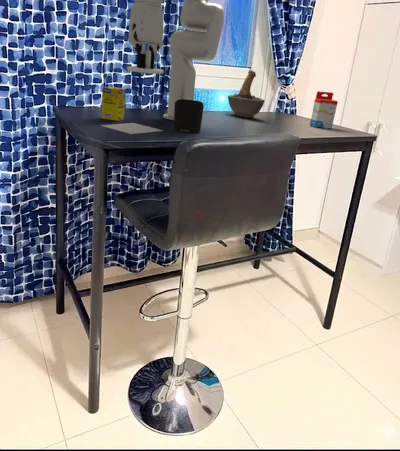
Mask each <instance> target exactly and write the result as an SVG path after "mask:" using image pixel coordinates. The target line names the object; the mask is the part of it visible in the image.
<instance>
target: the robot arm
mask: <svg viewBox="0 0 400 451" xmlns="http://www.w3.org/2000/svg"><path fill="white" fill-rule="evenodd" d="M163 2H164V0H134V2H133V3H132V6H131V9H130V16H129V24H128V40H127V42H128V43H129V45H131V47H132V48H133V49H134V51H135V53H136V67H137V68H143V69H145V67H146V54H144V53H145V50H146V44H147V50H148V51H151V68H150V69H154V68H155V65H156V64H155V62H156V56H157V54H158V51H159V50H160V49H162V48H163V47H164V42H163V41H164V40H163V39H164V12H163V11H164V9H163V7H162V4H163ZM179 20H180V25H181V27H182V28H183V29H179V30H178V29H177V30H176V31H173V33H172V34H171V35H170V37H169V38H170V39H169V49H170V50H169V51H170V73H169V74H170V75H169V90H168V101H167V102H168V104H167V113H164V114H163V117H162V118H164V119H167V120H171V121H174V108H175V102H176V101H177V100H179V99H186V100H194V99H195V98H194V95H195V86H196V76H197V74H196V69H195V67H194V64H193V63H192V61H193V60H196V61H204V62H207V61H208V62H209V61H213V60H214V59H215V58H216V55H217V51H218V47H219V44H220V39H221V35H222V31H223V26H224V21H225V12H224V9H223V7H222V6H221V5H220V4H217V3H213V2H209V0H183V4H182V9H181V13H180V19H179ZM191 60H192V61H191Z"/></svg>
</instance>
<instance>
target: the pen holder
mask: <svg viewBox="0 0 400 451" xmlns="http://www.w3.org/2000/svg"><path fill="white" fill-rule="evenodd" d="M204 108H205V106H204V103H203V102H202V101H200V100H194V99H193V100H186V99H179V100H177V101H176V102H175V108H174V120H173V131H174V132H178V133H183V134H200V132H201V128H202V123H203V121H202V120H203V113H204Z"/></svg>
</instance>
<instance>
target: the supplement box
mask: <svg viewBox="0 0 400 451" xmlns="http://www.w3.org/2000/svg"><path fill="white" fill-rule="evenodd" d="M101 96H102V97H101V99H102V102H101V104H102V106H101V119H102V120H105V121H113V122H120V121H124V120H125V102H126V99H125V98H126V97H125V96H126V88H122V87H115V86H107V87H106V86H104V87H102V93H101Z"/></svg>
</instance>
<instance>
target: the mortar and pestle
mask: <svg viewBox="0 0 400 451" xmlns="http://www.w3.org/2000/svg"><path fill="white" fill-rule="evenodd" d="M247 73H248V74H247V76H246V77H245V79H244V80H243V83H242V86H241V88H240V90H239V92H238V93H234V95H232V94H231V95H228V96H227V101H228V104H229V106H230V109H231V111H232V112H233V114H234V115H235V116H236V117H239V116H240V117H241V118H245V119H253V118H254V117H255V116H257V115H259V113H260V112H261V110H262V108H263V107H264V103H265V99H262V98H260V97H256V95H254V94H253V95H252V92H251V87H252V85H253V82H254V79H255V78H256V77H257V74H256V71H254V70H252V69H250V70H249V71H248V72H247Z"/></svg>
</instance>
